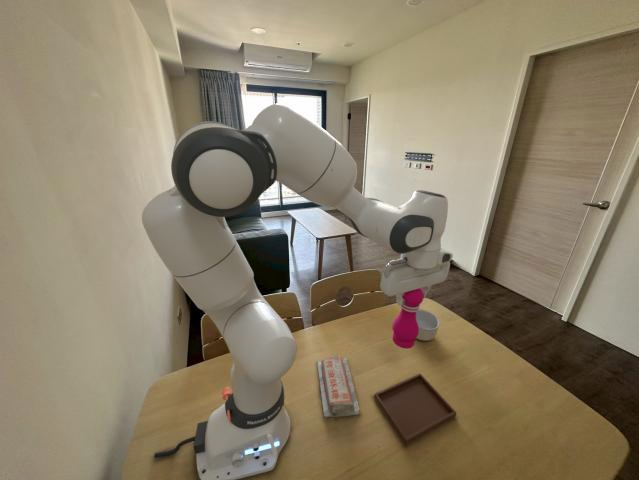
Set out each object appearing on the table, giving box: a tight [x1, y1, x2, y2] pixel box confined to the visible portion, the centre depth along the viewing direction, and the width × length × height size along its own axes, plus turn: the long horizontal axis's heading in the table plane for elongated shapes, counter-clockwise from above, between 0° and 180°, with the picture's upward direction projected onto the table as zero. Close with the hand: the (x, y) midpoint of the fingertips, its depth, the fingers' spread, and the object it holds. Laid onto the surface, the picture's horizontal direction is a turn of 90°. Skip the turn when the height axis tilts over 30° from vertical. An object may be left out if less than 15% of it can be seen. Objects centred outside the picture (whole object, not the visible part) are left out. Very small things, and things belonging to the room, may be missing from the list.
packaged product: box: [317, 355, 361, 419], centre depth 75 cm, size 18×5×10 cm
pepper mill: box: [391, 288, 424, 349], centre depth 70 cm, size 7×7×20 cm
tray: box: [373, 373, 457, 446], centre depth 70 cm, size 17×13×2 cm
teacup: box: [415, 308, 441, 342], centre depth 96 cm, size 14×11×8 cm
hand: (410, 300), depth 69 cm, fingers closed on pepper mill, 6 cm apart
